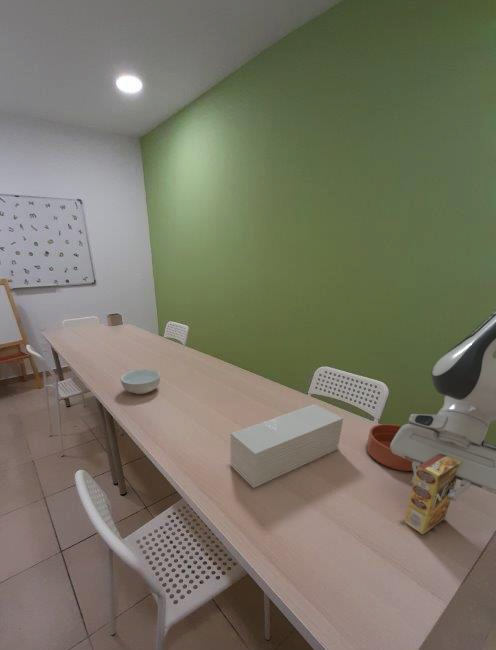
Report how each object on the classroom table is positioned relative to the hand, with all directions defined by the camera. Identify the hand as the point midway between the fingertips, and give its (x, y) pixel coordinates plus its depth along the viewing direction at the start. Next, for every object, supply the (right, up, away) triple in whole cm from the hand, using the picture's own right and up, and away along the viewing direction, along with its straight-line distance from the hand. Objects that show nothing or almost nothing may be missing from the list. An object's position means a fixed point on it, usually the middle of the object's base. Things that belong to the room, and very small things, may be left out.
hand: (432, 491), depth 63 cm
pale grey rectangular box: (-24, +1, +25) cm, 35 cm away
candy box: (+1, -8, +4) cm, 9 cm away
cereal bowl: (-77, +19, +71) cm, 106 cm away
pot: (+8, +2, +25) cm, 26 cm away
